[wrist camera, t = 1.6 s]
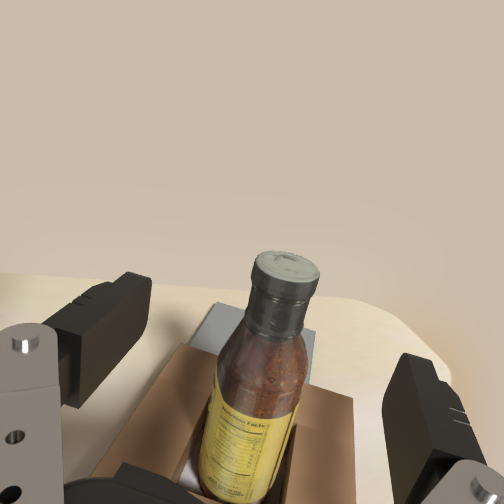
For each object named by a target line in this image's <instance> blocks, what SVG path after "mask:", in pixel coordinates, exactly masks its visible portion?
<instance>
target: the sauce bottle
mask: <svg viewBox="0 0 504 504" xmlns="http://www.w3.org/2000/svg"><path fill="white" fill-rule="evenodd" d="M319 277H320V272H319V271H318V269H317V267H316V265H315V264H313V263H312V262H311V261H309V260H308V259H306V258H304V257H302V256H298V255H295V254H293V253H287V252H281V251H277V252H276V251H269V252H268V251H267V252H263V253H261V254H259V255H258V256H257V258H256V259H255V262H254V266H253V269H252V274H251V280H252V288H251V293H250V297H249V302H248V307H247V308H246V310H245V313H244V317H243V318H242V320H241V321H240V323H239V324H238V326H237V327H236V329H235V330H234V332H233V333H232V334H231V336H230V337H229V339H228V340H227V342H226V343H225V345H224V346H223V348H222V349H221V351H220V353H219V356H218V359H217V364H216V370H215V375H214V381H213V385H212V391H211V395H210V401H209V407H208V411H207V418H206V423H205V428H204V433H203V438H202V444H201V449H200V455H199V468H198V472H199V477H200V483H201V486H202V488H203V490H204V493H205V495H206V496H207V498H208V499H211V500H214V501H216V502H219V503H222V504H261V503H262V502H263V501H265V499H266V498H267V496H268V493H269V490H270V488H271V487H272V485H273V483H274V481H275V478H276V475H277V472H278V469H279V466H280V463H281V460H282V457H283V453H284V450H285V447H286V444H287V440H288V437H289V434H290V431H291V428H292V425H293V422H294V418H295V415H296V412H297V409H298V406H299V402H300V399H301V395H302V387H303V384H304V381H305V378H306V375H307V371H308V356H307V350H306V347H305V342H304V339H303V337H302V335H301V331H302V330H303V326H304V323H303V321H304V318H305V314H306V311H307V308H308V304H309V301H310V298H311V297H312V296H313V294H314V293H315V290H316V287H317V284H318V281H319Z"/></svg>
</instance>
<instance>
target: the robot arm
mask: <svg viewBox="0 0 504 504" xmlns="http://www.w3.org/2000/svg"><path fill="white" fill-rule="evenodd" d="M151 288H152V280H151V278H149V277H145V276H142V275H138V274H135V273H132V272H126V273H125V274H123V275H122V276H121V277H119V278H118V279H117V280H116V281H114V282H113V283H111V282H108V281H107V282H104V283H101V284H98V285H95V286H92V287H91V288H89V289H88V290H87V291H85V292H84V293H83V294H81V296H78V297H77V298H76V299H74V300H73V301H72V303H69V304H67V305H66V306H65V307H63V308H62V309H60V310H59V311H58V312H56V313H55V314H54V315H52V316H51V317H49V318H48V319H47V320H45V321H44V322H43V323H41V324H38V323H23V324H17V325H13V326H10V327H8V328H5V329H3V330H2V331H0V504H205V503H204V502H202V501H201V500H199V499H198V498H196V497H195V496H193V495H192V494H190V493H189V492H188V491H186V490H185V489H183V488H182V487H180V486H179V485H177V484H176V483H174V482H173V481H171V480H170V479H168V478H167V477H165V476H162V475H159V474H156V473H153V472H150V471H148V470H145V469H142V468H139V467H136V466H133V465H131V464H128V463H125V462H122V464H121V466H120V467H119V469H118V471H117V472H116V474H115V475H114V477H111V476H101V477H90V478H84V479H80V480H76V481H72V482H69V483H66V484H63V459H62V430H61V406H62V405H63V404H65V405H68V406H71V407H74V408H77V409H79V408H80V407H81V406H82V405H83V404H84V402H85V401H86V400H87V399H88V398H89V397H90V395H91V394H92V393H93V392H94V391H95V390H96V389H97V387H98V386H99V385H100V384H101V383H102V382H103V380H104V379H105V378H106V377H107V376H108V375H109V373H110V372H111V371H112V370H113V369H114V368H115V367H116V365H117V364H118V363H119V362H120V361H121V360H122V358H123V357H124V356H125V355H126V354H127V353H128V351H129V350H130V349H131V348H132V347H133V346H134V345H135V343H136V342H137V341H138V340H139V339H140V337H141V336H142V334H143V332H144V330H145V327H146V324H147V320H148V313H149V304H150V296H151ZM464 412H465V410H464V408H463V406H462V403H461V401H460V398H459V396H458V395H457V394H456V393H455V392H454V391H453V389H452V388H451V387H450V386H449V385H448V384H447V382H443V381H440V380H439V379H438V376H437V374H436V371H435V368H434V365H433V363H432V361H431V360H429V359H425V358H422V357H418V356H415V355H412V354H408V353H403V354H402V355H401V357H400V359H399V361H398V364H397V366H396V368H395V371H394V373H393V375H392V378H391V380H390V382H389V385H388V387H387V389H386V392H385V394H384V398H383V403H382V419H383V426H384V433H385V441H386V448H387V455H388V462H389V469H390V476H391V484H392V491H393V498H394V504H504V477H503V476H501V475H500V474H499V473H498V472H496V471H495V470H493V469H492V468H490V467H488V466H487V464H486V461H485V459H484V456H483V454H482V451H481V449H480V446H479V444H478V442H477V439H476V437H475V434H474V432H473V430H472V427H471V426H469V425H470V422H469V420H468V418H467V415H466V414H465V413H464Z"/></svg>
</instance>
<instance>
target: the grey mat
mask: <svg viewBox="0 0 504 504" xmlns="http://www.w3.org/2000/svg"><path fill="white" fill-rule="evenodd" d="M244 313H245V310H243V309H239V308H236V307H233V306H229V305H226V304H223V303H219V302H216V304H215V306H214V307H213V309H212V310H211V312H210V313H209V315H208V316H207V318H206V320H205V321H204V323H203V324H202V326H201V327H200V329H199V330H198V332H197V334H196V335H195V337H194V338H193V340H192V341H191V343H190V344H189V346H191V347H194V348H197V349H200V350H203V351H207V352H210V353H213V354H216V355H219V353H220V351H221V349H222V348H223V346H224V345H225V343H226V342H227V340H228V339H229V337H230V336H231V334H232V333H233V332H234V330H235V329H236V327H237V326H238V324H239V323H240V321H241V320H242V318H243V317H244ZM315 332H316V331H312V330H309V329H306V328H303V330H302V331H301V335H302V337H303V339H304V342H305V347H306V350H307V356H308V371H307V375H306V378H305V381H304V383H307V384H309V380H310V372H311V364H312V356H313V348H314V340H315Z"/></svg>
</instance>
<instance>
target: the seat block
mask: <svg viewBox="0 0 504 504" xmlns="http://www.w3.org/2000/svg"><path fill="white" fill-rule="evenodd" d="M218 356H219V355H216V354H213V353H210V352H207V351H203V350H200V349H197V348H194V347H191V346H188V345H185V344H182V343H181V344H180V346H179V347H178V348H177V350H176V351H175V353H174V354H173V356H172V357H171V359H170V360H169V362H168V363H167V365H166V366H165V367H164V369H163V370H162V372H161V373H160V375H159V376H158V378H157V379H156V381H155V382H154V384H153V385H152V386H151V388H150V389H149V391H148V392H147V394H146V395H145V397H144V398H143V400H142V401H141V403H140V404H139V405H138V407H137V408H136V410H135V411H134V413H133V414H132V416H131V417H130V419H129V420H128V422H127V423H126V425H125V426H124V427H123V429H122V430H121V432H120V433H119V435H118V436H117V438H116V439H115V441H114V442H113V444H112V445H111V446H110V448H109V449H108V451H107V452H106V454H105V455H104V457H103V458H102V460H101V461H100V463H99V464H98V465H97V467H96V468H95V470H94V471H93V473H92V474H91V476H90V477H101V476H111V477H114V475H115V474H116V472H117V471H118V469H119V467H120V466H121V464H122V462H125V463H128V464H131V465H133V466H136V467H139V468H142V469H145V470H148V471H150V472H153V473H156V474H159V475H162V476H165V477H167V478H168V479H170V480H171V481H173V482H174V483H176V484H177V483H178V481H179V478H180V476H181V474H182V472H183V469H184V467H185V465H186V462H187V460H188V458H189V456H190V453H191V451H192V449H193V447H194V444H195V442H196V440H197V437H198V435H199V433H200V431H201V428H202V426H203V424H204V423H206V418H207V411H208V407H209V401H210V395H211V391H212V385H213V381H214V375H215V370H216V364H217V359H218ZM284 451H286V452H287V458H286V464H285V470H284V476H283V483H282V489H281V495H280V501H279V504H356V483H355V450H354V418H353V398H351V397H347V396H344V395H341V394H338V393H335V392H332V391H329V390H326V389H322V388H319V387H316V386H313V385H310V384H307V383H304V384H303V387H302V395H301V399H300V402H299V406H298V409H297V412H296V415H295V418H294V422H293V425H292V428H291V431H290V434H289V437H288V440H287V444H286V447H285V450H284ZM90 477H89V478H90ZM188 492H189V491H188ZM189 493H190V494H192V495H193V496H195V497H196V498H198V499H199V500H201V501H202V502H204V503H205V504H222V503H219V502H216V501H214V500H211V499H208V498H205V497H203V496H200V495H197V494H195V493H192V492H189Z"/></svg>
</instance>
